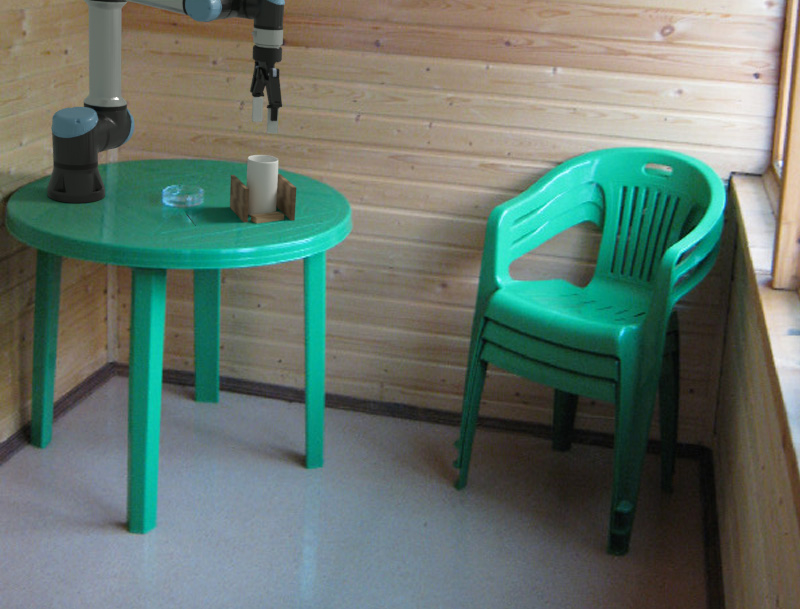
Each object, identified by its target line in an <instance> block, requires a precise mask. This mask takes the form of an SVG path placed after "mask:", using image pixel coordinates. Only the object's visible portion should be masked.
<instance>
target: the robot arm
mask: <svg viewBox="0 0 800 609" xmlns="http://www.w3.org/2000/svg"><path fill="white" fill-rule="evenodd" d="M83 1H84V2H85V4H86V5H87V7H88V83H89V84H88V88H89V89H88V91H89V93H88V95H87V96H86V97H85V98H84V99H83V106H73V107H65V108H61V109H59V110H57V111H55V113H54V114H53V115H52V118H51V120H52V122H51V135H52V137H51V138H52V158H53V159H52V160H53V162H52V163H53V167H52V171H51V175H50V178H49V180H48V181H49V182H48V184H47V188H46V189H47V197H48V198H49V199H51V200H54V201H56V202H62V203H72V204H74V203H75V204H81V203H83V204H84V203H91V202H97V201H100V200H102V199H104V198H105V197H106V186H105V184H104V182H103V178H102V175H101V173H100V170H99V155H98V154H99V153H102V152H105V151H108V150H113V149H118V148H119V147H121V146H123V145H125V144H126V143H127V142H129V141H130V140H131V138H132V137H133V135H134V131H135V118H134V115H133V114H131V110H129V108H128V107H127V106H128V103H127V100H125V99H124V97H123V96H122V9H123V7H124V6H125V5H126V4H127V3H128V2H130V3H135V4H140V5H143V6H148V7H150V8H156V9H158V10H159V9H160V10H163V11H166V12H167V11H169V12H171V13H176V14H181V15H184V16H188V17H190V18H191V19H192V20H194V21H196V22H199V23H201V22H202V23H209V22H212V21H219V20H225V19H231V18H236V19H237V18H238V19H246V20H253V31H252V32H251V36H253V37H252V38H253V39H252V42H253V43H254V44H253V45H252V58H251V59H253V61H254V67H253V73H252V78H251V83H250V89H249V92H250V93H251V96H252V106H251V107H252V108H251V122H253V123H256V122H257V123H262V122H263V115H264V114H263V113H264V112H263V111H264V110H263V109H264V97H265V93H264V90H266V96H267V101H268V104H267V106H266V109H267V119H266V120H267V122H266V133H267V134H278V133H279V111H280V108H282V107H283V104H282V103H283V101H282V92H281V91H282V90H281V82H280V80H281V79H280V68H276V65H275V64H276V63H281V62H282V60H283V47H282V45H283V44H284V26H283V25H284V15H285V14H284V13H285V12H284V11H285V4H286V1H285V0H83Z"/></svg>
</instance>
